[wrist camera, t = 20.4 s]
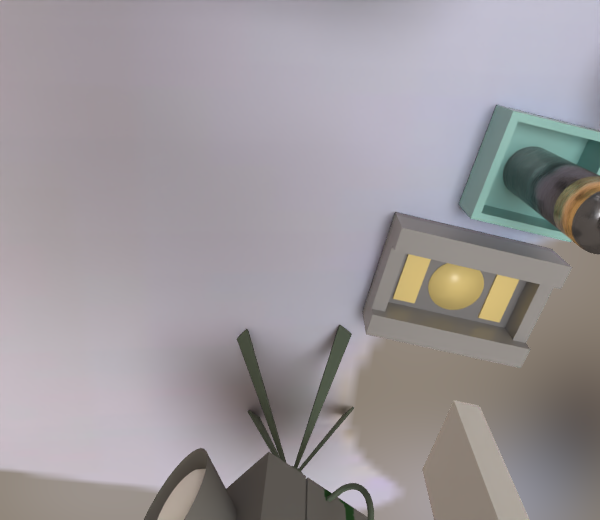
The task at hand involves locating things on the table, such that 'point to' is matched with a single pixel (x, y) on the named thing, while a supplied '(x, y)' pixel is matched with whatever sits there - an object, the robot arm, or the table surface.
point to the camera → (260, 470)
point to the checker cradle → (460, 290)
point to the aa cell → (557, 193)
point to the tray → (502, 145)
